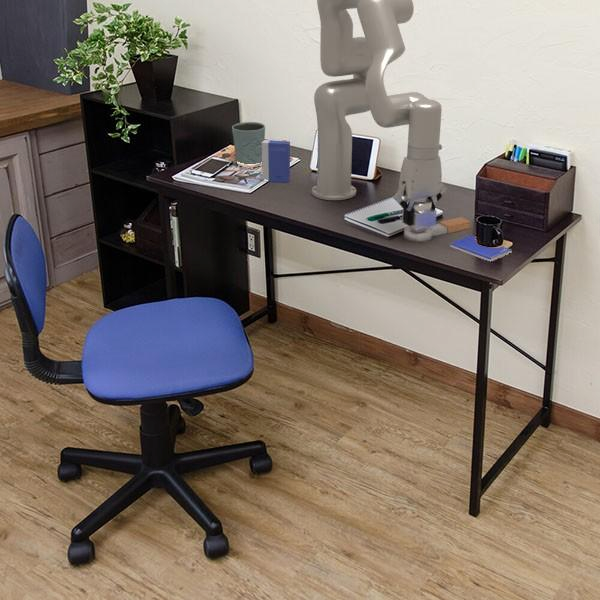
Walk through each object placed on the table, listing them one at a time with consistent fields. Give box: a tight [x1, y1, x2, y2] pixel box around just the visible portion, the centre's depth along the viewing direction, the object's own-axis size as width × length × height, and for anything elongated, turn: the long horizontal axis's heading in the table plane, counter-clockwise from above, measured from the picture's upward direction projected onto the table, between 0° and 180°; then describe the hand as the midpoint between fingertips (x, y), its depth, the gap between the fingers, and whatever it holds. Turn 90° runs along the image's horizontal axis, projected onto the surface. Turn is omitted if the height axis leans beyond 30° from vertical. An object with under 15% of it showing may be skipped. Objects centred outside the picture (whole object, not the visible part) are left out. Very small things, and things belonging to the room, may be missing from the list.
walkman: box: [261, 139, 291, 183], centre depth 270 cm, size 8×3×12 cm, turn 79°
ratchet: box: [403, 216, 471, 243], centre depth 234 cm, size 18×7×5 cm, turn 119°
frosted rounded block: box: [401, 197, 437, 230], centre depth 230 cm, size 6×6×6 cm
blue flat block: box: [449, 235, 513, 263], centre depth 225 cm, size 2×8×12 cm
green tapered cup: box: [231, 121, 266, 164], centre depth 284 cm, size 10×10×12 cm
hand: (418, 221), depth 231 cm, fingers closed on frosted rounded block, 5 cm apart
